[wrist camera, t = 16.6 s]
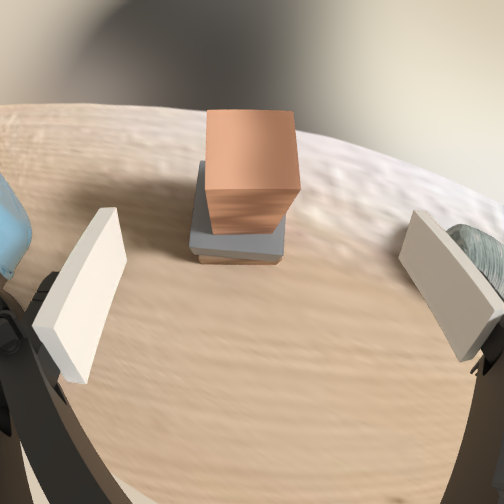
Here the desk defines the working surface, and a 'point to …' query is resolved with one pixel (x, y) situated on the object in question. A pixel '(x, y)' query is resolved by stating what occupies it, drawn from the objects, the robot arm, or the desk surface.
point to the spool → (481, 252)
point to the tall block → (250, 169)
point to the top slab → (230, 245)
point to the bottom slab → (233, 261)
